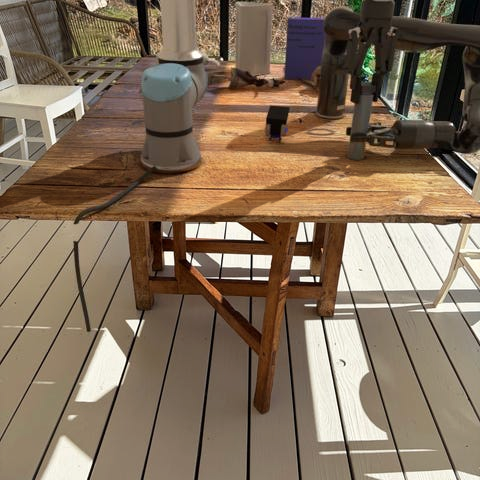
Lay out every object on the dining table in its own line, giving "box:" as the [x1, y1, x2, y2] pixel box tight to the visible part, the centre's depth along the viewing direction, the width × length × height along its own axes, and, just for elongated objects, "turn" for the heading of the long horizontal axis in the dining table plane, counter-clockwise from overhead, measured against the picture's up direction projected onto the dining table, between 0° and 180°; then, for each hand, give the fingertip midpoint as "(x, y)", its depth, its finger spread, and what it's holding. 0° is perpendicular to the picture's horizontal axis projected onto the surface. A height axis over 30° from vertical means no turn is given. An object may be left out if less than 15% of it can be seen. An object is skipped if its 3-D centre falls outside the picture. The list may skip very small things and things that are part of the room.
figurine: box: [209, 66, 287, 89], centre depth 190 cm, size 24×8×30 cm
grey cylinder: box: [346, 93, 374, 161], centre depth 124 cm, size 4×4×18 cm
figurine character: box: [264, 105, 290, 143], centre depth 140 cm, size 7×8×15 cm
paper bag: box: [234, 1, 274, 77], centre depth 210 cm, size 19×15×28 cm
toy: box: [155, 51, 221, 68], centre depth 223 cm, size 24×25×7 cm
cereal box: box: [283, 16, 325, 81], centre depth 202 cm, size 17×5×24 cm, turn 86°
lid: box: [360, 81, 376, 93], centre depth 119 cm, size 5×5×2 cm
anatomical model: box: [310, 66, 321, 93], centre depth 190 cm, size 13×9×15 cm
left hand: (363, 101), depth 121 cm, fingers closed on lid, 5 cm apart
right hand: (348, 134), depth 125 cm, fingers closed on grey cylinder, 4 cm apart
